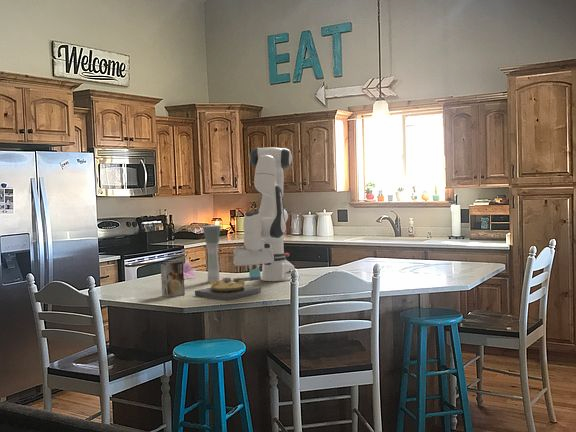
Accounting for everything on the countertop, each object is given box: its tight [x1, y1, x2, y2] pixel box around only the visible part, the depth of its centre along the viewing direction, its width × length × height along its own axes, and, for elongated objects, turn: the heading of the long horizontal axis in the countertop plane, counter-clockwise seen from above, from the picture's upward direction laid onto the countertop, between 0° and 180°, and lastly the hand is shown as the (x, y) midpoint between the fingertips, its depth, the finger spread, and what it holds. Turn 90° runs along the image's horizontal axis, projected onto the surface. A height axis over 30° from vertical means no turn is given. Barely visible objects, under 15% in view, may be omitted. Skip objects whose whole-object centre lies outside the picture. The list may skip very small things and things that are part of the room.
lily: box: [183, 259, 197, 281], centre depth 367 cm, size 12×12×10 cm
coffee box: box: [160, 260, 186, 298], centre depth 312 cm, size 9×6×16 cm
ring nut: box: [210, 268, 262, 291], centre depth 311 cm, size 24×16×8 cm
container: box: [202, 224, 222, 284], centre depth 350 cm, size 10×10×30 cm
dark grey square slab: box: [194, 285, 262, 301], centre depth 310 cm, size 22×22×3 cm
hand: (254, 273), depth 315 cm, fingers closed
